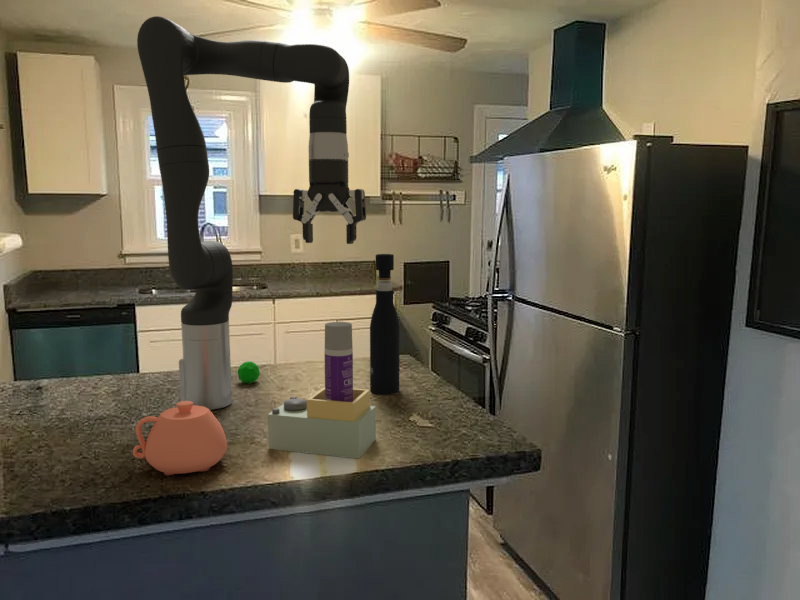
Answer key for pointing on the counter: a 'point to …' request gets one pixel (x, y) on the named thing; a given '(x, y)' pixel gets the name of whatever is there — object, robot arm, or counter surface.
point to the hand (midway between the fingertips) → (329, 243)
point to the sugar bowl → (182, 440)
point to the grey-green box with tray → (324, 425)
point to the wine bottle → (384, 333)
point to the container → (338, 362)
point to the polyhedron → (248, 372)
